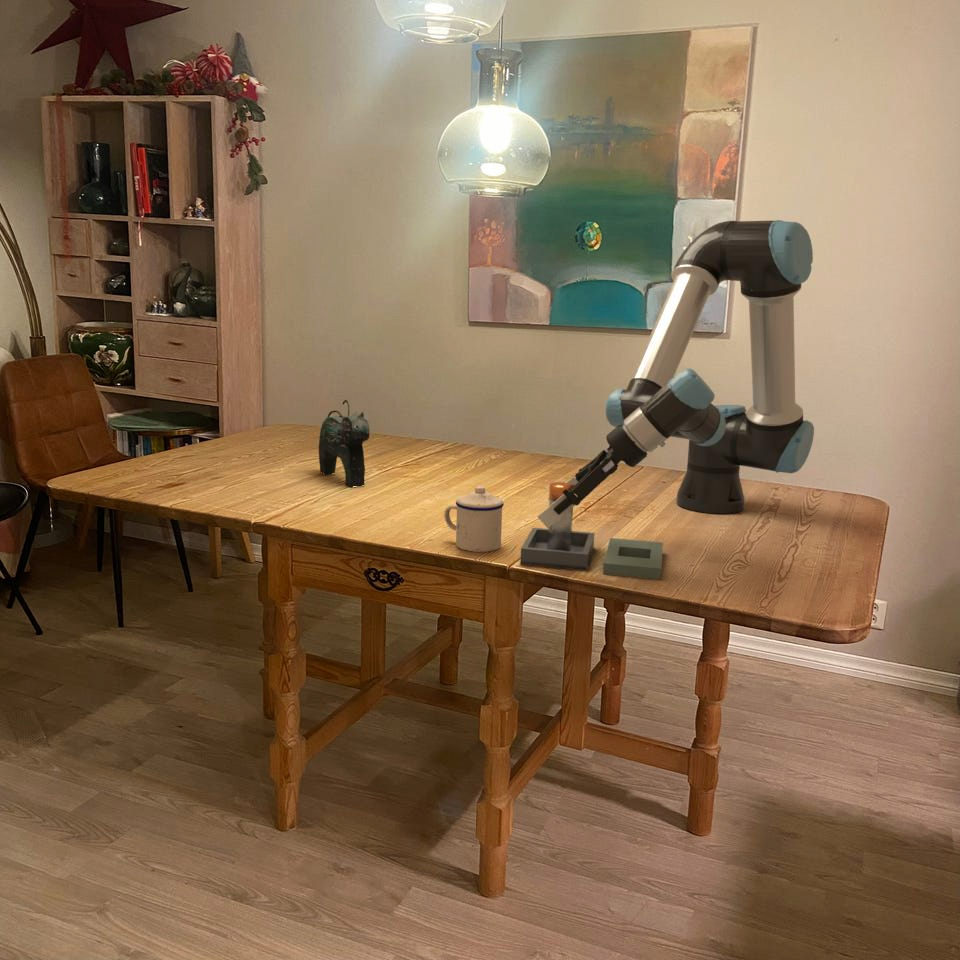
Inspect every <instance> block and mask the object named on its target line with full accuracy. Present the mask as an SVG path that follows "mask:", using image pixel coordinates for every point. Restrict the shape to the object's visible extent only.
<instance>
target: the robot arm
mask: <svg viewBox="0 0 960 960" xmlns="http://www.w3.org/2000/svg"><path fill="white" fill-rule="evenodd" d="M812 244H813V243H812V239H811V236H810V234H809V232H808V230H807V229H806V228H805V226H803V224H801V223H799V222H797V221H784V220H780V219H776V220H743V221H742V220H739V221H738V220H727V221H726V220H725V221H721V222H718V223H716V224H713V225H712V226H709V227H707V229H705V230H704V231H702V232H701V233H699V234H698V236H696V237H695V238H694V239H693V240H692V241H691V242H690V243H689V244H688V246H686V248H685V249H684V250H683V252H682V253H681V255H680V256H679V258H678V259H677V261H676V263H675V265H674V268H673V270H672V273H671V280H672V285H671V287H670V289H669V292H668V294H667V296H666V298H665V300H664V302H663V306H662V308H661V310H660V312H659V314H658V317H657V319H656V321H655V324H654V326H653V328H652V330H651V333H650V335H649V337H648V340H647V342H646V345H645V347H644V348H643V351H642V354H641V356H640V358H639V360H638V362H637V365H636V366H635V367H636V368H635V369H634V372H633V374H632V377H631V379H630V381H629V383H628V384H627V387H626V389H625V388H621V389H614V390H613V392H612V393H610V394H609V396H608V398H607V400H606V403H605V417H606V420H607V422H608V423H609V425H610V426H612V427H614V428H613V429H612V430H611V431H610V432H609V433H608V434H607V435H606V437H605V439H606V442H607V444H608V445H609V446H608V448H607V449H603V450H602V451H600V452H599V453H598V454H597V456H595V457H594V458H593V459H592V460H591V461H590V462H589V463H587V464H585V465H584V466H583V467H582V468H580V469H579V470H578V472H577V473H575V475H574V476H572V477H571V478H569V480H568V481H566V482H565V483H571V484H574V485H575V486H574V487H573V488H572V489H571V490H570V491H569V492H568V491H567V490H566V489H565V490H564V491H563V492H562V493H563V495H562V496H561V497H560V498H559V499H557V500H556V501H555V502H554V503H553V504H552V505H550V506H549V505H548V507H547V508H546V509H545V510H543V511H542V512H541V513H539V515H537V519H538V520H540V522H541V523H542V524H543V525H544V526H545V527H546V529H548V527H550V526H551V525H552V524H553V523H554V522H556V521H557V520H558V519H559V518H560V517H562V516H563V515H564V514H565V513H566V512H568V511H569V510H570V509H571V508H572V507H573V508H574V507H575V506H579V505H580V504H581V502H582V501H583V500H584V499H585V498H586V497H587V496H589V495H590V494H591V493H592V492H593V491H594V490H595V489H596V488H597V487H598V486H599V485H600V484H601V483H603V482H604V481H605V480H606V479H607V478H608V477H609V476H610V475H613V474H614V473H615V472H616V471H617V470H618V467H619V463H621V462H624V463H625V465H627V466H628V467H630V468H634V467H636V466H637V465H638V464H640V463H641V462H642V461H643V460H644V459H645V458H647V456H648V452H649V453H652V452H653V451H655V450H656V449H658V446H660V447H661V448H664V447H665V446H666V443H665V441H666V440H668V439H670V438H671V437H672V438H677V439H684V440H688V450H687V465H686V472H685V474H684V477H683V478H682V481H681V483H680V486H679V488H678V491H677V492H676V501H675V502H676V504H677V505H678V506H679V507H682V508H683V509H686V510H691V511H693V512H694V511H695V512H701V513H706V514H733V513H734V514H735V513H740V512H741V511H743V510H745V509H744V508H745V501H746V500H745V495H744V491H743V487H742V483H741V479H740V478H741V477H740V466H742V467H746V468H747V467H748V468H753V469H758V470H766V471H770V472H775V473H778V474H779V473H785V474H795V473H797V472H799V471H800V470H801V469H802V467H803V466H804V465H805V463H806V461H807V460H808V457H809V455H810V452H811V449H812V445H813V442H814V436H815V427H814V424H813V423H812V422H811V421H809V420H808V419H806V420H804V410H803V408H802V407H801V406H800V405H799V404H798V403H796V366H795V365H796V362H795V361H796V360H795V311H794V309H795V306H794V305H795V304H794V303H795V300H794V297H796V295H797V294H798V293H799V292H800V291H801V289H802V284H803V283H805V282H806V281H807V280H808V279H809V278H810V275H811V273H812V264H813V260H814V259H813V258H814V257H813V255H814V253H813V245H812ZM724 281H731V282H733V281H736V282H739V285H740V293H741V296H743V297H744V298H745V299H746V300H748V307H749V308H748V309H749V311H748V312H749V313H748V314H749V333H750V334H749V335H750V337H749V338H750V339H749V340H750V359H751V360H750V361H751V363H750V364H751V383H752V405H751V406H750V407H749V408H748V409H746V406H745V405H740V404H719V405H714V404H713V403H712V402H713V401H714V400H715V396H716V395H715V393H714V391H713V390H712V389H711V387H710V386H709V385H708V384H707V382H705V381H704V379H703V378H702V377H701V376H700V375H699V374H698V373H697V372H696V371H695V370H694V369H692V368H685V369H683V370H682V371H681V372H679V373H678V374H677V370H678V368H679V366H680V363H681V362H682V359H683V356H684V354H685V352H686V350H687V347H688V344H689V342H690V340H691V338H692V336H693V333H694V330H695V329H696V326H697V324H698V321H699V319H700V317H701V314H702V312H703V310H704V307H705V305H706V303H707V300H708V298H709V296H712V295H714V294H715V293H717V290H718V288H719V285H720V284H721V283H722V282H724ZM547 499H548V500H549V497H548V498H547Z"/></svg>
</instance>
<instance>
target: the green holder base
mask: <svg viewBox="0 0 960 960" xmlns="http://www.w3.org/2000/svg"><path fill="white" fill-rule="evenodd" d="M663 547H664V542H659V541H651V540H649V541H648V540H638V539H626V538H617V537H616V538H614V537H610V539H609V541H608V545H607V549H606V553H605V556H604V560H603V569H602V570H603V571H602V575H608V576H609V575H612V576H621V577H632V578H642V579H643V578H644V579H653V580H661V576H662V575H661V574H662V562H663Z"/></svg>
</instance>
